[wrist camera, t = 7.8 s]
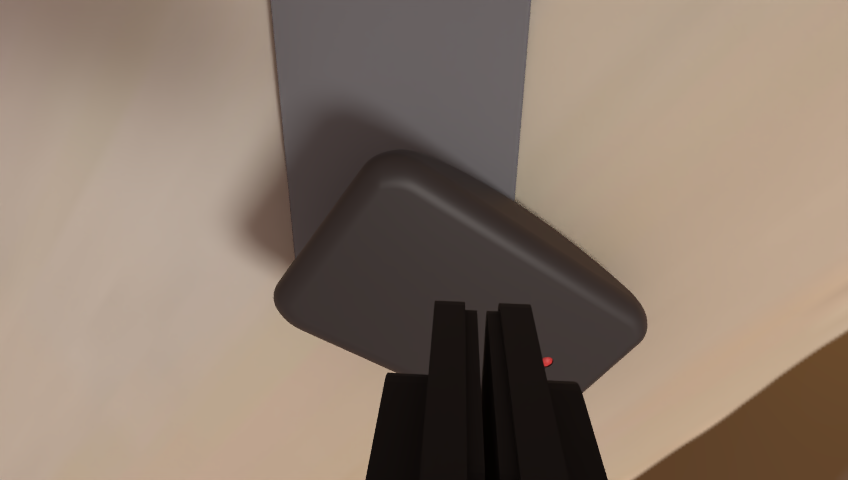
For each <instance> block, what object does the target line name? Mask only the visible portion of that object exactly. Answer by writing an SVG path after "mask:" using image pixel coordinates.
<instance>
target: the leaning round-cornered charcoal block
mask: <svg viewBox="0 0 848 480" xmlns="http://www.w3.org/2000/svg"><path fill="white" fill-rule="evenodd" d="M435 300H436V301H460V302H465V310H477V317H478V338H479V359H480V380H481V383H482V367H483V352H484V337H485V322H486V312H487V311H498V305H499V303H510V304H530V305H531V308H532V312H533V317H534V321H535V326H536V331H537V335H538V340H539V344H540V349H541V354H542V358H543V363H544V368H545V372H546V377H547V380H552V381H573V382H577V383H578V384H579V386H580V388H581V391H582V393H583V392H584V391H585V390H586V389H587V388H589V387H590V386H591V385H592V384H593V383H594V382H595V381H597V380H598V379H599V378H600V377H601V376H602V375H603V374H605V373H606V372H607V371H608V370H609V369H610V368H612V367H613V366H614V365H615V364H616V363H617V362H618V361H620V360H621V359H622V358H623V357H624V356H625V355H626V354H628V353H629V352H630V351H631V350H632V349H633V348H634V347H636V346H637V345H638V344H639V343H640V342H641V341H642V340H643V338H644V336H645V334H646V331H647V317H646V314H645V311H644V309H643V307H642V306H641V304H640V303H639V301H638V300H637V299H636V297H635V296H634V295H633V294H632V293H631V292H630V291H629V290H628V289H627V288H626V287H625V286H624V285H622V284H621V283H620V282H619V281H618V280H617V279H616V278H614V277H613V276H612V275H611V274H610V273H609V272H607V271H606V270H605V269H604V268H603V267H602V266H600V265H599V264H598V263H597V262H595V261H594V260H593V259H592V258H591V257H589V256H588V255H587V254H586V253H584V252H583V251H582V250H581V249H579V248H578V247H577V246H575V245H574V244H573V243H572V242H570V241H569V240H568V239H566V238H565V237H564V236H562V235H561V234H560V233H558V232H557V231H556V230H554V229H553V228H552V227H550V226H549V225H547V224H546V223H545V222H543V221H542V220H540V219H539V218H538V217H536V216H535V215H533V214H532V213H530V212H529V211H527V210H526V209H525V208H523V207H521V206H520V205H518V204H517V203H515V202H514V201H512V200H511V199H509V198H508V197H506V196H504V195H503V194H501V193H500V192H498V191H496V190H495V189H493V188H491V187H490V186H488V185H486V184H484V183H483V182H481V181H479V180H477V179H476V178H474V177H472V176H470V175H468V174H466V173H464V172H462V171H460V170H458V169H456V168H455V167H452V166H450V165H448V164H446V163H444V162H442V161H439V160H437V159H435V158H432V157H430V156H427V155H424V154H422V153H419V152H416V151H412V150H406V149H397V150H390V151H386V152H383V153H380V154H377V155H375V156H374V157H372V158H371V159H369V160H368V161H367V162H366V163H365V164H364V166H363V167H362V168H361V170H360V171H359V172H358V174H357V175H356V177H355V178H354V179H353V181H352V182H351V183H350V185H349V186H348V187H347V189H346V190H345V192H344V193H343V194H342V196H341V197H340V198H339V200H338V201H337V203H336V204H335V205H334V207H333V208H332V209H331V211H330V212H329V214H328V215H327V216H326V218H325V219H324V220H323V222H322V223H321V225H320V226H319V227H318V229H317V230H316V231H315V233H314V234H313V236H312V237H311V238H310V240H309V241H308V242H307V244H306V245H305V247H304V248H303V249H302V251H301V252H300V253H299V255H298V256H297V258H296V259H295V260H294V262H293V263H292V264H291V266H290V267H289V268H288V270H287V271H286V273H285V274H284V275H283V277H282V278H281V279H280V281H279V282H278V284H277V286H276V288H275V291H274V303H275V306H276V308H277V310H278V311H279V313H280V314H281V315H282V316H283V317H284V318H285V319H286V320H287V321H288V322H289V323H290V324H292V325H293V326H295V327H297V328H298V329H300V330H303V331H305V332H307V333H309V334H312V335H314V336H316V337H318V338H320V339H323V340H325V341H327V342H329V343H332V344H334V345H336V346H338V347H340V348H343V349H345V350H347V351H349V352H352V353H354V354H356V355H358V356H360V357H363V358H365V359H367V360H369V361H372V362H374V363H376V364H378V365H380V366H383V367H385V368H387V369H389V370H392V371H394V372H396V373H404V374H425V375H428V373H429V361H430V349H431V338H432V326H433V314H434V303H435Z"/></svg>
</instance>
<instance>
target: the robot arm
mask: <svg viewBox="0 0 848 480" xmlns="http://www.w3.org/2000/svg"><path fill="white" fill-rule="evenodd" d="M366 480H608V479H607V476H606V472H605V469H604V466H603V462H602V459H601V455H600V452H599V449H598V445H597V442H596V438H595V435H594V432H593V428H592V425H591V421H590V418H589V415H588V411H587V408H586V404H585V401H584V398H583V394H582V391H581V388H580V386H579V384H578V383H577V382H573V381H552V380H547V377H546V372H545V368H544V363H543V358H542V354H541V349H540V344H539V340H538V335H537V331H536V326H535V321H534V317H533V312H532V308H531V305H530V304H510V303H499V305H498V311H487V312H486V322H485V337H484V352H483V367H482V383H481V380H480V359H479V338H478V317H477V310H465V302H460V301H436V300H435V303H434V314H433V326H432V338H431V349H430V361H429V373H428V375H425V374H404V373H387V375H386V378H385V382H384V387H383V393H382V398H381V403H380V408H379V413H378V418H377V423H376V429H375V434H374V439H373V444H372V449H371V454H370V460H369V465H368V470H367V475H366Z"/></svg>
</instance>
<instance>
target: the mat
mask: <svg viewBox="0 0 848 480" xmlns="http://www.w3.org/2000/svg"><path fill="white" fill-rule="evenodd" d="M530 7H531V0H271V10H272V20H273V31H274V41H275V52H276V62H277V73H278V83H279V94H280V104H281V115H282V126H283V136H284V147H285V157H286V168H287V178H288V189H289V199H290V210H291V220H292V231H293V241H294V252H295V259H296V258H297V256H298V255H299V253H300V252H301V251H302V249H303V248H304V247H305V245H306V244H307V242H308V241H309V240H310V238H311V237H312V236H313V234H314V233H315V231H316V230H317V229H318V227H319V226H320V225H321V223H322V222H323V220H324V219H325V218H326V216H327V215H328V214H329V212H330V211H331V209H332V208H333V207H334V205H335V204H336V203H337V201H338V200H339V198H340V197H341V196H342V194H343V193H344V192H345V190H346V189H347V187H348V186H349V185H350V183H351V182H352V181H353V179H354V178H355V177H356V175H357V174H358V172H359V171H360V170H361V168H362V167H363V166H364V164H365V163H366V162H367V161H368V160H369V159H371V158H372V157H374V156H375V155H377V154H380V153H383V152H386V151H390V150H397V149H406V150H412V151H416V152H419V153H422V154H424V155H427V156H430V157H432V158H435V159H437V160H439V161H442V162H444V163H446V164H448V165H450V166H452V167H455V168H456V169H458V170H460V171H462V172H464V173H466V174H468V175H470V176H472V177H474V178H476V179H477V180H479V181H481V182H483V183H484V184H486V185H488V186H490V187H491V188H493V189H495V190H496V191H498V192H500V193H501V194H503V195H504V196H506V197H508V198H509V199H511V200H512V201H515V189H516V177H517V165H518V153H519V140H520V128H521V116H522V104H523V92H524V80H525V68H526V56H527V43H528V31H529V19H530Z"/></svg>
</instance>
